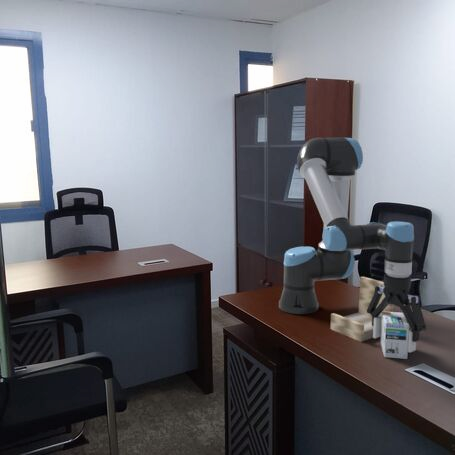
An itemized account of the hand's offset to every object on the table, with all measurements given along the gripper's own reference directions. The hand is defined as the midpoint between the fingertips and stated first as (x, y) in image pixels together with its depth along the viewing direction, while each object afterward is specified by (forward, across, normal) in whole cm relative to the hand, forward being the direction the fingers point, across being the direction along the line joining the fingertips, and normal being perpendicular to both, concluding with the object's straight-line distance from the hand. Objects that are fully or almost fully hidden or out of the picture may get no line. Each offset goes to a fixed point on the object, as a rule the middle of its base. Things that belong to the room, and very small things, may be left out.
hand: (393, 343), depth 139 cm
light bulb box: (+3, 0, 0) cm, 3 cm away
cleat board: (+2, -16, +5) cm, 17 cm away
